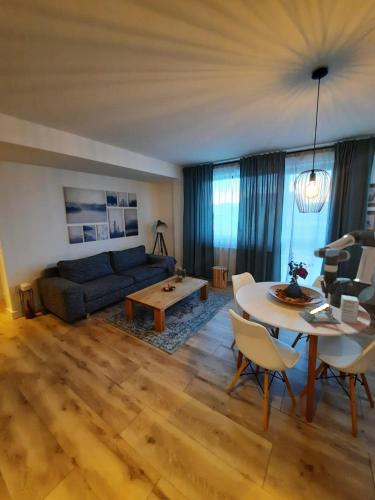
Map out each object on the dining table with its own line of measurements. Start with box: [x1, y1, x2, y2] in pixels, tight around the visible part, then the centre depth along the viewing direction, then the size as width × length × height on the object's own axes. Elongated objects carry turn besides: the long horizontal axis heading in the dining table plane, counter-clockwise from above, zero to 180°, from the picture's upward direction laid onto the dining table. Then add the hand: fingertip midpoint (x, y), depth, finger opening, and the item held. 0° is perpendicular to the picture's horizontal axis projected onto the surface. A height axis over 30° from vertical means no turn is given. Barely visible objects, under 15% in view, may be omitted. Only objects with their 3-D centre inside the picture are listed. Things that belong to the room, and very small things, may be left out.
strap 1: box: [306, 306, 326, 312], centre depth 157 cm, size 15×3×1 cm, turn 86°
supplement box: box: [339, 295, 360, 325], centre depth 150 cm, size 10×9×17 cm
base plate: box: [297, 306, 341, 324], centre depth 153 cm, size 22×15×7 cm
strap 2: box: [311, 303, 331, 314], centre depth 149 cm, size 15×3×1 cm, turn 86°
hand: (327, 302), depth 148 cm, fingers closed
